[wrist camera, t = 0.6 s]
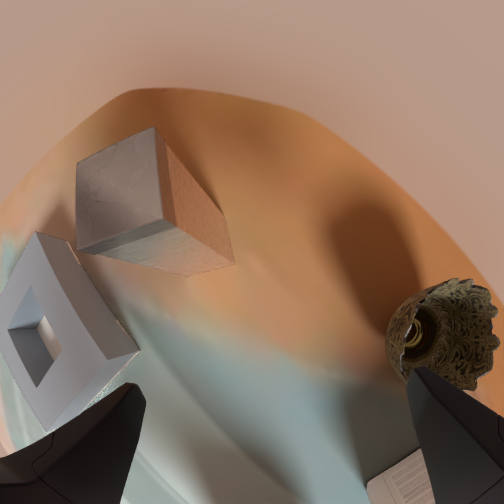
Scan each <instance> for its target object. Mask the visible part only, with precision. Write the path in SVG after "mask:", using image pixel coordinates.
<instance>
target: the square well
mask: <svg viewBox="0 0 504 504" xmlns="http://www.w3.org/2000/svg"><path fill="white" fill-rule="evenodd" d="M0 350H1V353H2V355H3V357H4V359H5V362H6V364H7V366H8V368H9V370H10V372H11V374H12V376H13V378H14V380H15V382H16V384H17V386H18V388H19V389H20V391H21V393H22V395H23V397H24V398H25V400H26V402H27V403H28V405H29V407H30V408H31V410H32V412H33V413H34V415H35V416H36V418H37V420H38V421H39V423H40V424H41V426H42V427H43V429H44V430H45V431H46V432H48V431H50V430H52V429H55V428H57V427H59V426H62V425H64V424H65V423H67V422H69V421H70V420H72V419H73V418H75V417H76V416H78V415H79V414H81V413H82V412H83V410H84V409H85V408H86V407H87V406H88V405H89V404H90V403H91V402H92V401H93V400H94V399H95V398H96V397H97V396H98V395H99V394H100V393H101V392H102V390H103V389H104V388H105V387H106V386H107V385H108V384H109V383H110V382H111V381H112V380H113V379H114V378H115V377H116V376H117V375H118V374H119V373H120V372H121V371H122V370H123V368H124V367H125V366H126V365H127V364H128V363H129V362H130V361H131V360H132V359H133V358H134V357H135V356H136V355H137V354H138V353H139V352H140V351H141V350H140V349H139V347H138V346H137V345H136V344H135V342H134V341H133V340H132V339H131V337H130V336H129V335H128V333H127V332H126V331H125V329H124V328H123V327H122V325H121V324H120V323H119V321H118V320H117V318H116V317H115V316H114V314H113V313H112V311H111V310H110V309H109V307H108V306H107V304H106V303H105V301H104V300H103V298H102V297H101V295H100V294H99V292H98V291H97V289H96V288H95V286H94V284H93V283H92V281H91V280H90V278H89V276H88V275H87V273H86V272H85V270H84V268H83V267H82V265H81V263H80V262H79V260H78V258H77V256H76V255H75V253H74V251H73V249H72V247H71V246H70V244H69V242H68V241H65V240H62V239H58V238H55V237H52V236H49V235H45V234H42V233H39V232H36V231H35V233H34V234H33V236H32V237H31V239H30V241H29V242H28V244H27V246H26V248H25V249H24V251H23V253H22V255H21V256H20V258H19V260H18V262H17V264H16V265H15V267H14V269H13V271H12V273H11V275H10V277H9V279H8V281H7V283H6V285H5V287H4V289H3V292H2V294H1V296H0Z"/></svg>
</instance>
